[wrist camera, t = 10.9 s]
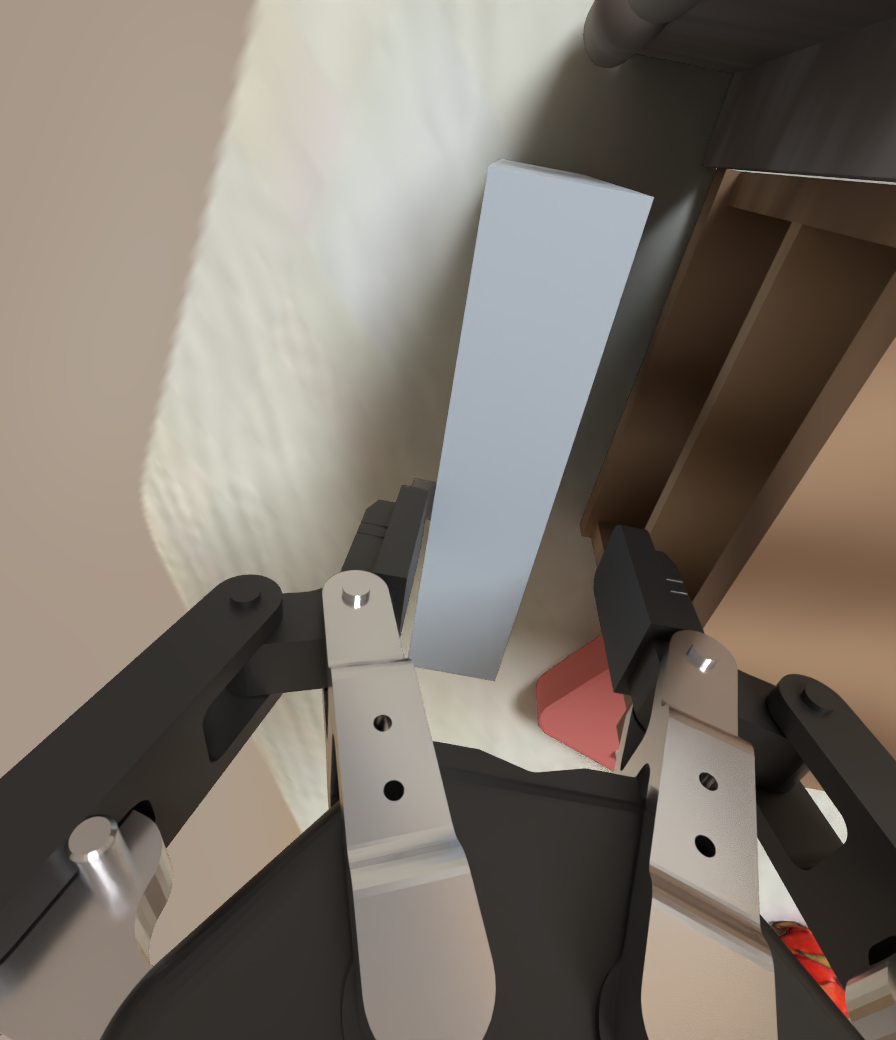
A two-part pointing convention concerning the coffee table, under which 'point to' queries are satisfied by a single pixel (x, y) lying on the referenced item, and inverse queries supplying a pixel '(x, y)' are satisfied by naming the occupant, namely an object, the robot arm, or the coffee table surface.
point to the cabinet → (775, 348)
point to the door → (517, 398)
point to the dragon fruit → (813, 961)
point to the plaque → (582, 704)
